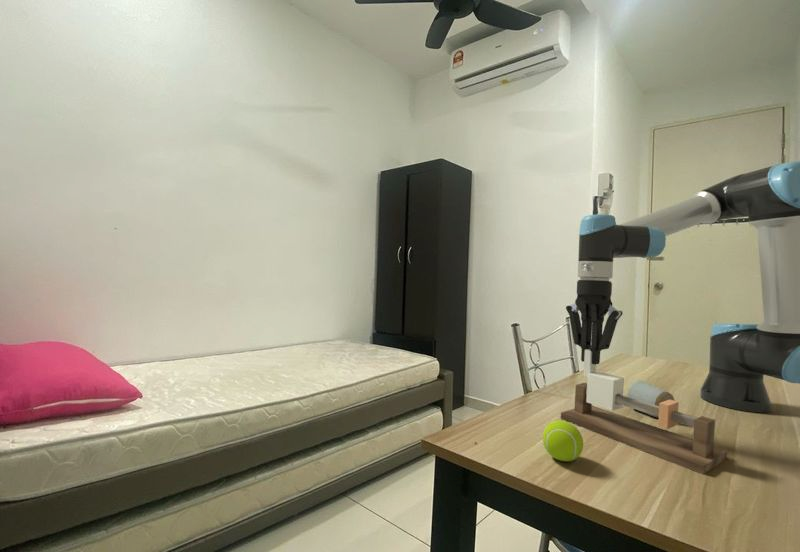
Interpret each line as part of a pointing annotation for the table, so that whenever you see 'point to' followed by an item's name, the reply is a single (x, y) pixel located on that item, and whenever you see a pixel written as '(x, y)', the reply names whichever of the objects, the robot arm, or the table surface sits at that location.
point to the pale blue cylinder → (648, 394)
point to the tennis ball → (562, 440)
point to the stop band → (667, 414)
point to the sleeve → (604, 390)
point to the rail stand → (650, 432)
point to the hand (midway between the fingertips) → (589, 376)
